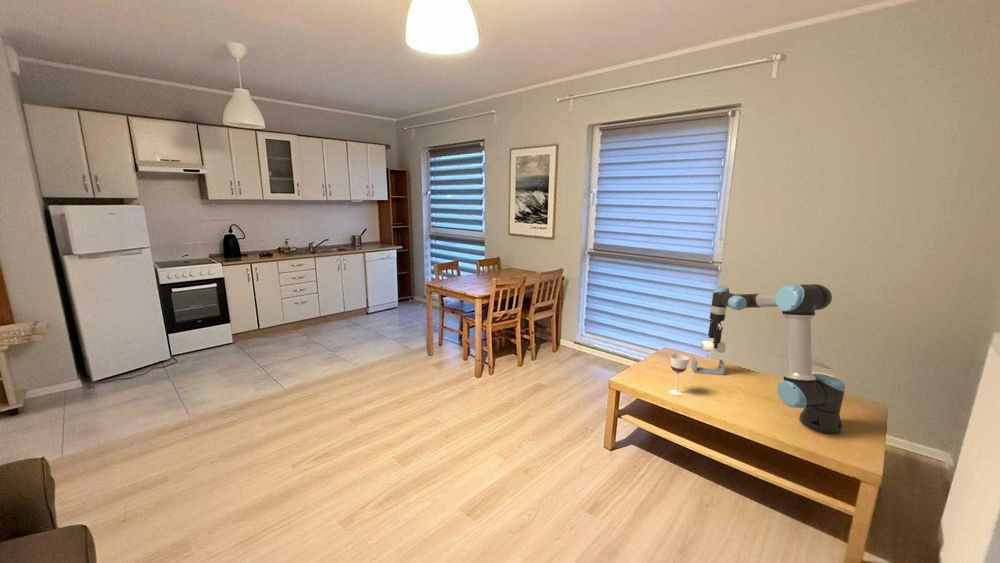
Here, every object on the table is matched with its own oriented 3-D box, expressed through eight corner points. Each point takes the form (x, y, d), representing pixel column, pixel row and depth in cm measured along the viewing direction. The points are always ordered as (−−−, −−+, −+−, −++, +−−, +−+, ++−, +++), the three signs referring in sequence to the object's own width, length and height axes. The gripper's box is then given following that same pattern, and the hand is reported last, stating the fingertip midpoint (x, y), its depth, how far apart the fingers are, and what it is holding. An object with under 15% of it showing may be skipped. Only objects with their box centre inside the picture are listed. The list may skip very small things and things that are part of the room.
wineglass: (687, 396, 204) (691, 360, 200) (670, 396, 205) (674, 359, 200) (680, 389, 212) (684, 354, 208) (664, 388, 212) (668, 353, 208)
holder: (723, 375, 230) (725, 364, 229) (694, 372, 233) (695, 361, 232) (720, 370, 236) (721, 359, 235) (691, 368, 239) (692, 357, 238)
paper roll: (721, 352, 231) (721, 342, 232) (725, 352, 226) (725, 342, 226) (700, 350, 234) (701, 340, 234) (704, 351, 228) (704, 340, 228)
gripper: (731, 318, 216) (725, 358, 221) (719, 308, 234) (713, 345, 239) (716, 317, 217) (710, 356, 222) (705, 307, 235) (700, 344, 240)
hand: (712, 350), depth 231 cm, fingers closed on paper roll, 6 cm apart
